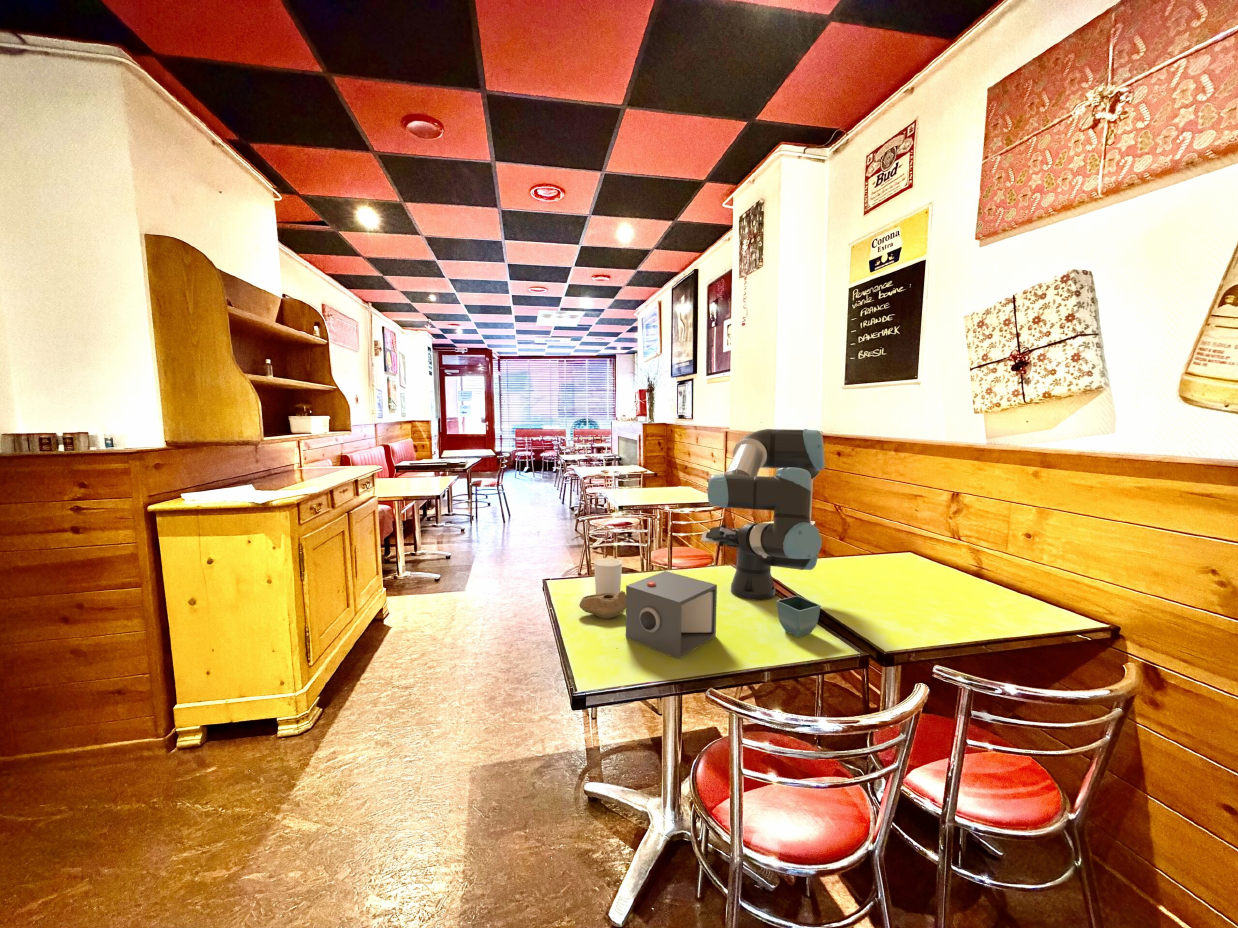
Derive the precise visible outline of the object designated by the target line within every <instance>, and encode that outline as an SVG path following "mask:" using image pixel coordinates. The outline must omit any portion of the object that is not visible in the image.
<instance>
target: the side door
mask: <svg viewBox="0 0 1238 928" xmlns="http://www.w3.org/2000/svg"><path fill="white" fill-rule="evenodd" d="M712 613H713V591H710V592H708V593H706V594H704V595H702V596H700V597H697V598H695V599H693V600H691V601H689V602H687V603H685V604H683V605H682V613H681V632H712Z"/></svg>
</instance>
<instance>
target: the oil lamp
mask: <svg viewBox="0 0 1238 928" xmlns="http://www.w3.org/2000/svg"><path fill="white" fill-rule="evenodd" d="M578 606H579V608H580V609H581V610H582V611H584V612H585V613H588V614H592V615H595V616H597V617H598V618H600V619H606V620H607V619H609V620H610V619H613V618H616V617H618V615H620V614H622V613H623V612H624V611H626V591H624V590H620V592H619V594H618V595H617V594H614V593H602V594H596V593H595V594H589V595H586V596H584V597H582V598H581V600H580V602H579V605H578Z"/></svg>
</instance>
